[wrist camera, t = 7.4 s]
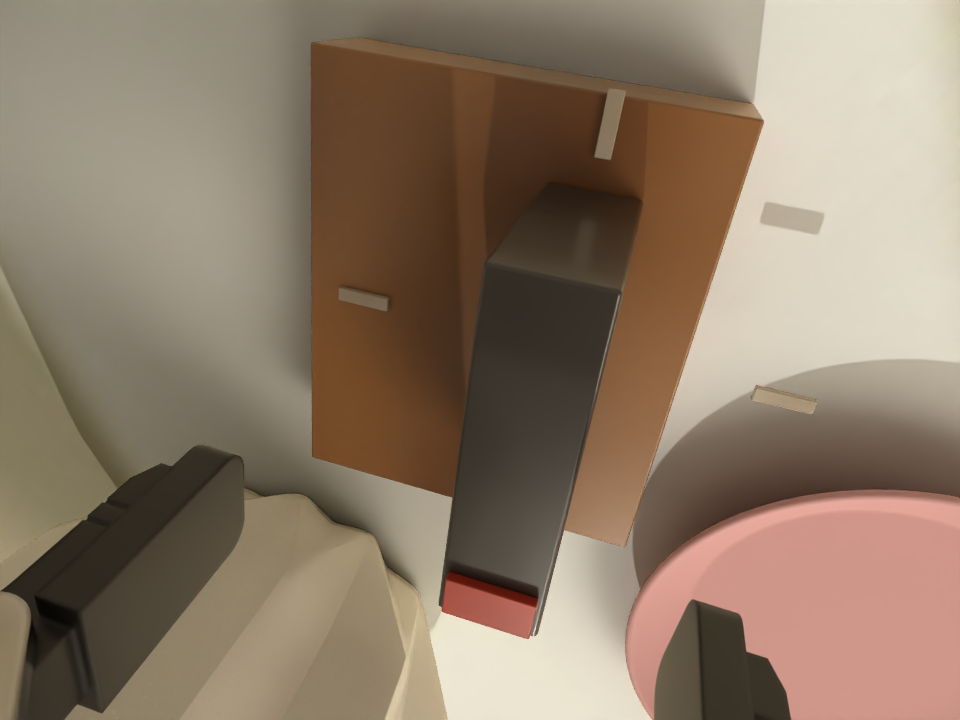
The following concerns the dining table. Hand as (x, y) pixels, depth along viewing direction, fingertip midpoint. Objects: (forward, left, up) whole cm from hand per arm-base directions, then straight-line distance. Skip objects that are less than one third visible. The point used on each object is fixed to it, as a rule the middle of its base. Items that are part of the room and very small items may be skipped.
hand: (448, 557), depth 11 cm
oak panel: (0, +1, -9) cm, 10 cm away
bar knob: (+1, +1, -7) cm, 7 cm away
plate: (+12, -8, -10) cm, 17 cm away
